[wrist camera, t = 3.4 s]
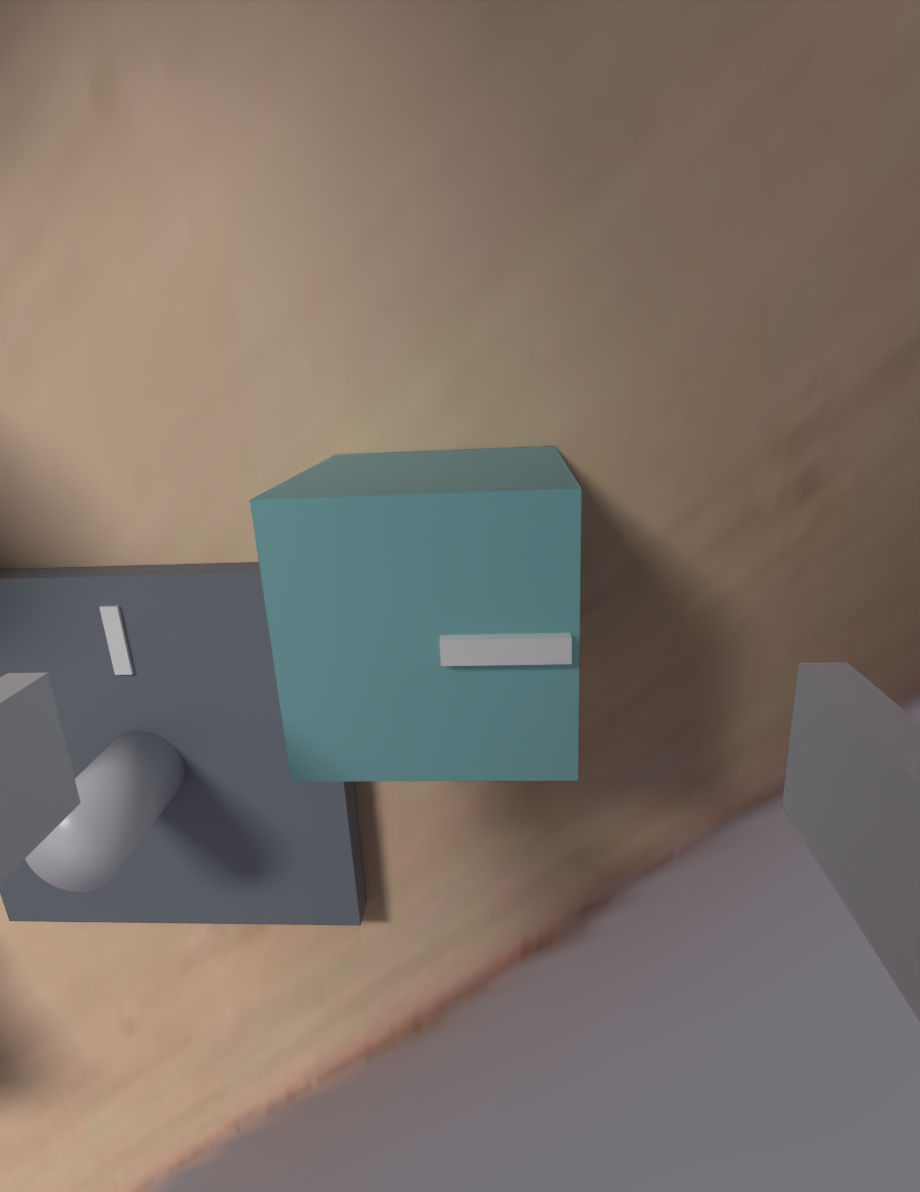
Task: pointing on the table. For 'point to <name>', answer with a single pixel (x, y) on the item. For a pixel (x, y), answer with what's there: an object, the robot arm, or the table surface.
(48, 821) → the robot arm
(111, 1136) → the table surface
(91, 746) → the shaft base
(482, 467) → the teal drawer cabinet
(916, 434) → the table surface
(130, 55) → the table surface
